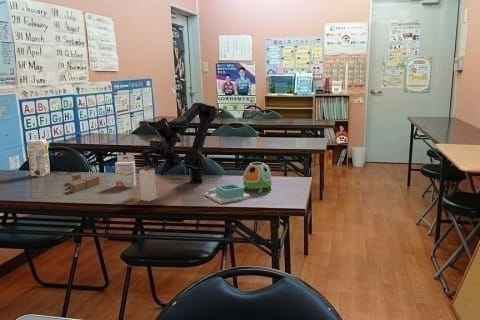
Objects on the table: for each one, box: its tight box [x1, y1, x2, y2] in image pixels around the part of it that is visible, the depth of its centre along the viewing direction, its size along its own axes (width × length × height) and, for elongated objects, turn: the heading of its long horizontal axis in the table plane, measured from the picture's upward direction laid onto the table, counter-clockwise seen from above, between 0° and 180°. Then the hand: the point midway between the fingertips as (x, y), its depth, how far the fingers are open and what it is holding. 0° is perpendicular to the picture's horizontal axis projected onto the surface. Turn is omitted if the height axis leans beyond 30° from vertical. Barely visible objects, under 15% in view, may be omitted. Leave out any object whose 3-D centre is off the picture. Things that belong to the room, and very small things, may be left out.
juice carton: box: [26, 138, 51, 177], centre depth 230 cm, size 8×9×19 cm
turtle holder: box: [242, 161, 273, 194], centre depth 196 cm, size 12×18×12 cm
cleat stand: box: [204, 183, 251, 204], centre depth 184 cm, size 14×14×5 cm
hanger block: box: [138, 166, 157, 202], centre depth 181 cm, size 4×4×14 cm
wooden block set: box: [67, 172, 101, 194], centre depth 205 cm, size 17×6×18 cm
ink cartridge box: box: [114, 154, 137, 189], centre depth 203 cm, size 9×5×15 cm, turn 92°
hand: (152, 173), depth 183 cm, fingers open, 9 cm apart
